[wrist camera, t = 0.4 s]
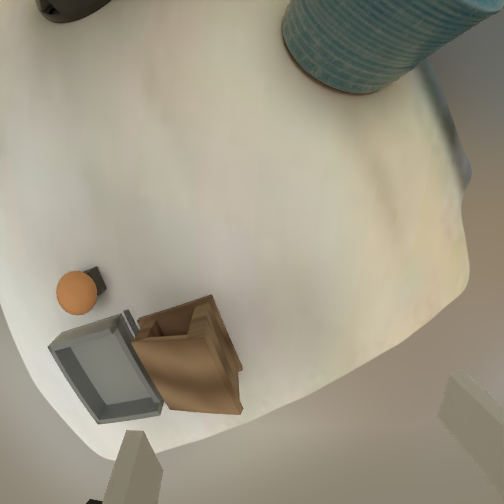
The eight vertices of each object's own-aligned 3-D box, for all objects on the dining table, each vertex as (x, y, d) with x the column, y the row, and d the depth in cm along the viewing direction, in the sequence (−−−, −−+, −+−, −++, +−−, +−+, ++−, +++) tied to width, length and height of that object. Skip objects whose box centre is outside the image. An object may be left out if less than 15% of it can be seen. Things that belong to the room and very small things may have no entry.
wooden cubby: (138, 318, 36) (113, 358, 27) (211, 294, 36) (206, 332, 27) (174, 385, 39) (163, 434, 29) (242, 367, 39) (246, 416, 29)
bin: (61, 332, 36) (47, 346, 32) (121, 313, 36) (109, 328, 32) (106, 406, 39) (98, 424, 35) (165, 395, 39) (160, 415, 35)
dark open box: (79, 273, 35) (70, 279, 32) (97, 266, 35) (88, 271, 32) (88, 294, 35) (80, 301, 33) (106, 288, 35) (99, 295, 33)
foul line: (123, 310, 36) (123, 311, 36) (128, 309, 36) (128, 310, 36) (169, 395, 39) (169, 396, 39) (173, 394, 39) (173, 395, 39)
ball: (62, 273, 32) (42, 285, 27) (93, 260, 32) (74, 272, 27) (79, 310, 33) (61, 326, 28) (110, 299, 33) (94, 315, 28)
